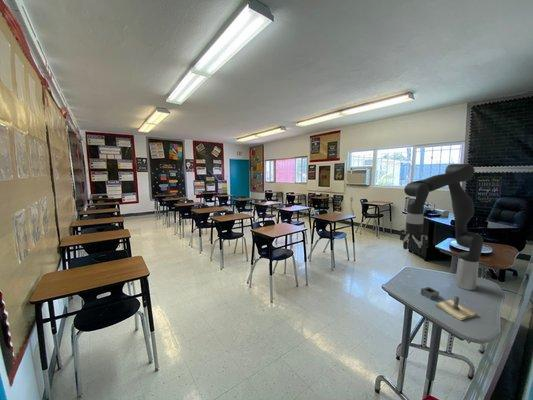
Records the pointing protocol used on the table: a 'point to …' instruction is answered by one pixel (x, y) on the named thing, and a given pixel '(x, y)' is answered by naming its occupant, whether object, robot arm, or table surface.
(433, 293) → the link
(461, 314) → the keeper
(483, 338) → the table surface
